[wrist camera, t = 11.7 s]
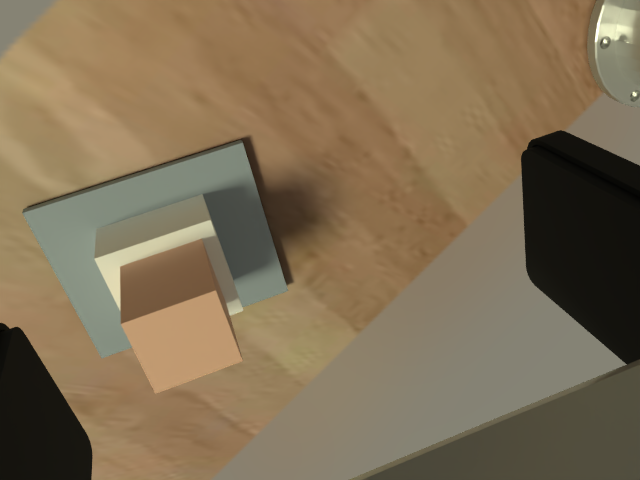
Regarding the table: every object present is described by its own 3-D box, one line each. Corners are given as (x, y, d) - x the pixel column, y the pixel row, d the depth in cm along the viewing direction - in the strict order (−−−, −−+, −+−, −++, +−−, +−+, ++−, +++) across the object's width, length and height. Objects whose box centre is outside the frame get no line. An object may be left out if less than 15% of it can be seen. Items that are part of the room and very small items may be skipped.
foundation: (241, 139, 39) (255, 163, 35) (286, 286, 45) (302, 321, 41) (23, 209, 37) (12, 242, 33) (101, 353, 43) (100, 396, 39)
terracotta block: (201, 238, 36) (215, 290, 31) (226, 303, 38) (242, 360, 33) (120, 266, 35) (120, 323, 30) (150, 330, 38) (155, 393, 33)
